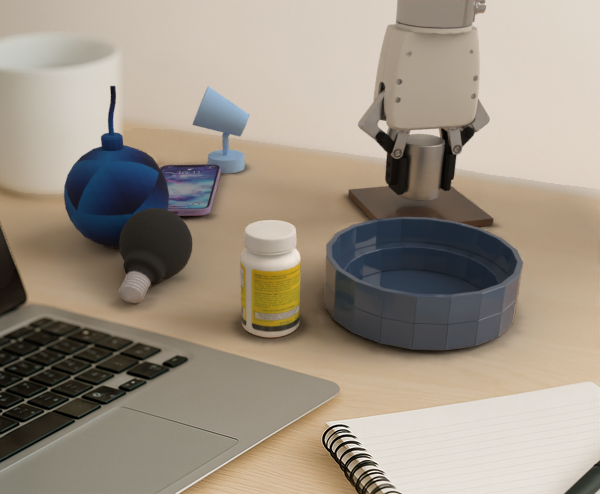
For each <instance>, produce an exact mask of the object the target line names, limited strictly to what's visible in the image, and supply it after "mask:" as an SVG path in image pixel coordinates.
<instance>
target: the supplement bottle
mask: <svg viewBox="0 0 600 494" xmlns="http://www.w3.org/2000/svg"><path fill="white" fill-rule="evenodd" d="M243 234H244V236H243V237H244V238H243V239H244V240H243V244H244V248H243V250H242V251H241V253H240V256H239V266H240V267H239V272H240V275H239V277H240V311H241V312H240V313H241V314H240V316H241V325H242V328H243V329H244V330H245V331H246V332H249V333H250V334H252V335H254V336H257V337H262V338H280V337H284V336H287V335H289V334H292V333H293V332H295V331H296V330H297V329H298V327H299V326H300V321H301V265H302V264H301V263H302V262H301V260H302V259H301V254H300V252H299V250H298V249H297V248H296V247H297V243H298V240H297V228H296V226H295V225H294V224H293V223H290V222H288V221H285V220H279V219H261V220H257V221H254V222H251V223H249V224H248V225H246V226H245V227H244V233H243Z"/></svg>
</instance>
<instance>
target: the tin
mask: <svg viewBox="0 0 600 494" xmlns="http://www.w3.org/2000/svg"><path fill="white" fill-rule="evenodd" d="M444 147H445V140H444V139H442V138H440V136H437V135H433V134H428V133H410V134H409V137H408V140H407V143H406V146H405V149H404V154H403V157H404V158H406V159H407V171H406V183H405V193H403V194H402V195H399V196H401V197H403V198H406V199H409V200H415V201H428V200H433V199H436V198H438V197H439V195H440V186H441V176H442V166H443V157H444Z"/></svg>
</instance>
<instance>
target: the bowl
mask: <svg viewBox="0 0 600 494" xmlns="http://www.w3.org/2000/svg"><path fill="white" fill-rule="evenodd" d="M523 268H524V260H523V259H522V257H521V255H520V253H519V250H518V249H517V248H516V247H515V246H513V244H511V243H510V242H508V241H507V240H506V239H505V238H503V237H501V236H500V235H497V234H495V233H492V232H491V231H488V230H485V229H484V228H481V227H474V226H471V225H467V224H463V223H460V222H455V221H449V220H442V219H435V218H428V217H393V218H382V219H373V220H371V219H369V220H366V221H361V222H358V223H353V224H351V225H349V226H347V227H345V228H343V229H341V230H339V231H338V232H336V233H335V234H334V235H333V236H331V238H330V239H329V241H327V243H326V244H325V273H324V274H325V275H324V307H325V309H326V311H328V314H329V315H330V316H331V318H332V319H333V320H334V322H336V323H338V324H339V325H341V326H342V327H344V328H345V329H346V330H348V331H349V332H351V333H352V334H355V335H356V336H359V337H362V338H365V339H368V340H370V341H373V342H375V343H377V344H382V345H387V346H392V347H396V348H402V349H407V350H418V351H419V350H421V351H422V350H423V351H450V350H456V349H464V348H473V347H477V346H479V345H482V344H484V343H487V342H490V341H492V340H494V339H498V338H499V337H500V336H502V335H503V334H504V333H505V332H507V330H508V329H510V327H512V325H513V323H514V319H515V316H516V313H517V307H518V306H517V305H518V299H519V295H520V287H521V279H522V274H523Z"/></svg>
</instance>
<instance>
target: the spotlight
mask: <svg viewBox="0 0 600 494" xmlns="http://www.w3.org/2000/svg"><path fill="white" fill-rule="evenodd" d="M249 118H250V114H249V113H248V112H247V111H246V110H244V109H243V108H241V107H240V106H238V105H236V103H234V102H232V101H231V100H230V99H228V98H227V97H225V96H224V95H222V94H221V93H219V92H218V91H216V90H215V89H214V88H212V87H210V86H209V85H208V86H207V87H206V90H205V92H204V94H203V97H202V99H201V101H200V103H199V106H198V109H197V112H196V114H195V116H194V119H193V121H192V126H195V127H199V128H204V129H207V130H212V131H215V132H220V133H222V140H221V141H222V143H221V145H222V149H217V150H213V151H211V152H209V153H208V154H207V164H215V165H219V166H220V169H221V173H220V175H222V174H224V175H228V174H236V173H239V172H242V171H244V170H245V168H246V167H245V166H246V165H245V163H246V162H245V153H244V152H242V151H240V150H237V149H230V142H229V141H230V140H229V136H230V135H232V136H235V137H242V135H243V133H244V130H245V129H246V126H247V124H248V121H249Z"/></svg>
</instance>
